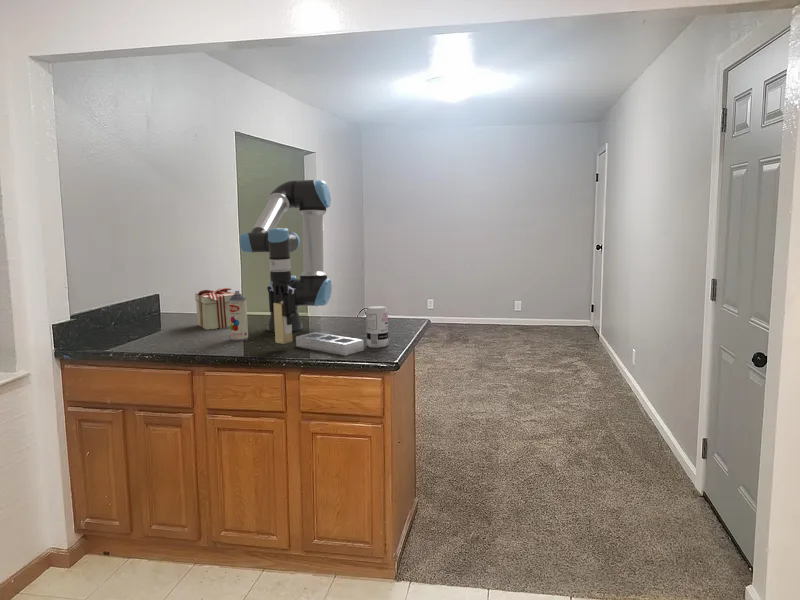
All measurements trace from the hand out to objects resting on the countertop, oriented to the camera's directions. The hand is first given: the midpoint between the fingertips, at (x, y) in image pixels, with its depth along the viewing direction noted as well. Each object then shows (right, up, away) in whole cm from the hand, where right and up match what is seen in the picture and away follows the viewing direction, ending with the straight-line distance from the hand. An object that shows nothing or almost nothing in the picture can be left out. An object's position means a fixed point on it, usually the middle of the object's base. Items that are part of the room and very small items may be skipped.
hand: (283, 332), depth 236 cm
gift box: (-39, 0, +52) cm, 65 cm away
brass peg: (0, -4, +1) cm, 4 cm away
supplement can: (+35, -6, +6) cm, 36 cm away
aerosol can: (-22, -4, +22) cm, 32 cm away
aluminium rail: (+17, -6, +2) cm, 18 cm away
